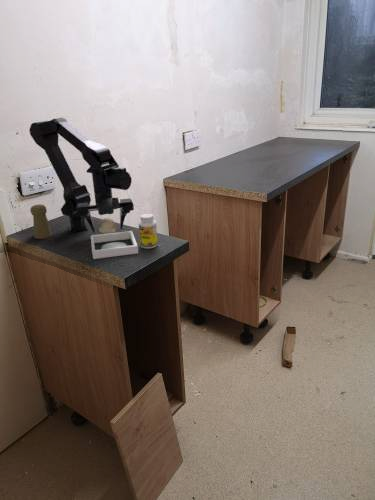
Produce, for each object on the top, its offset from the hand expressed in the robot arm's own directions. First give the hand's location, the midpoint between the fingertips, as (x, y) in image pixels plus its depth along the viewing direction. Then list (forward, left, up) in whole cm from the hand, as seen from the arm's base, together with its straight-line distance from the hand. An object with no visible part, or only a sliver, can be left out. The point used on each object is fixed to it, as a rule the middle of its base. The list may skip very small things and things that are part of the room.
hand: (107, 230), depth 137 cm
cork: (-7, -22, -2) cm, 23 cm away
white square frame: (+12, +1, -2) cm, 12 cm away
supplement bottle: (+14, +12, -2) cm, 19 cm away
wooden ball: (0, 0, -2) cm, 2 cm away
